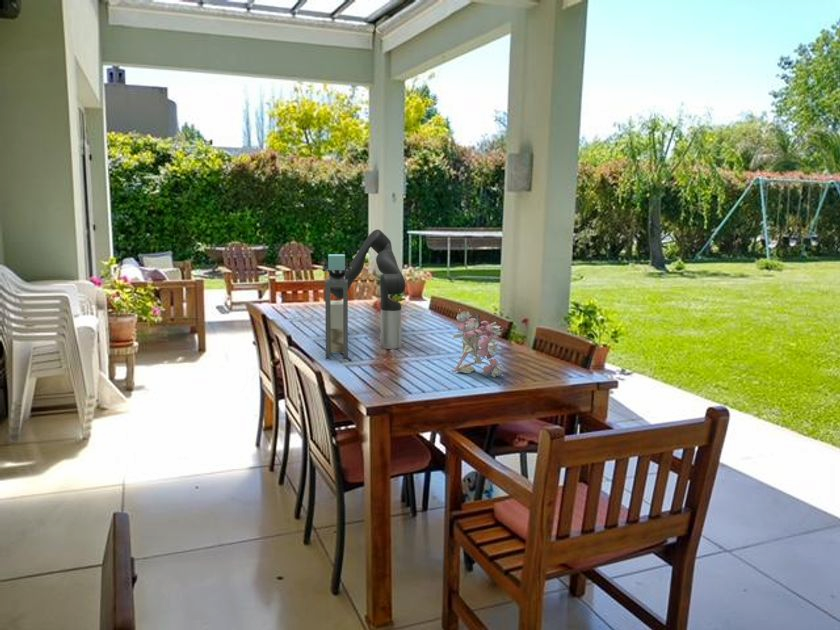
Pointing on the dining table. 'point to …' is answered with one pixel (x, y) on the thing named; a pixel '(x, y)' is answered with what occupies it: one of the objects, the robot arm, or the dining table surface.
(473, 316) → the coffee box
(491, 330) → the flower
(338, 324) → the tower top block
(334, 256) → the handle block
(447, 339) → the dining table surface
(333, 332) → the tower base block
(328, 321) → the stand
